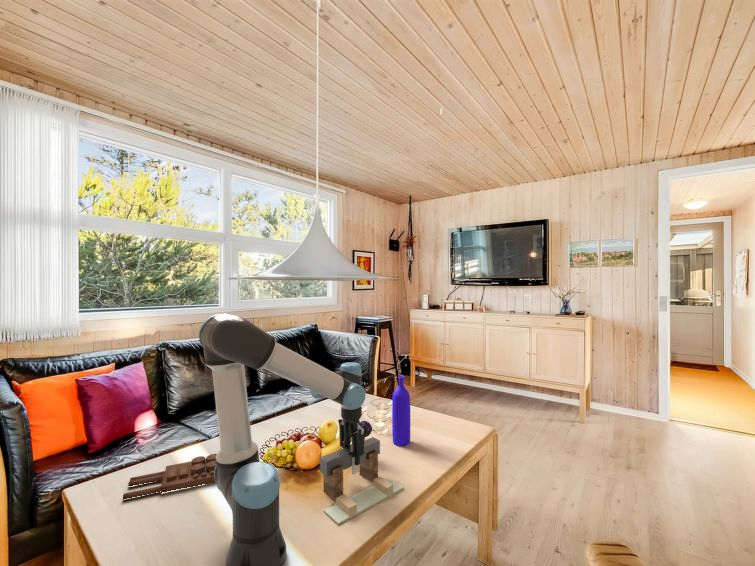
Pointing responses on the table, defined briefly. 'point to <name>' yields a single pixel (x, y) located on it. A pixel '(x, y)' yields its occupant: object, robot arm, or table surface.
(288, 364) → the robot arm
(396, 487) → the board
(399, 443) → the bottle
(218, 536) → the table surface
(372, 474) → the rack
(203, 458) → the miniature factory model
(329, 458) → the rail
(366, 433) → the lollipop
